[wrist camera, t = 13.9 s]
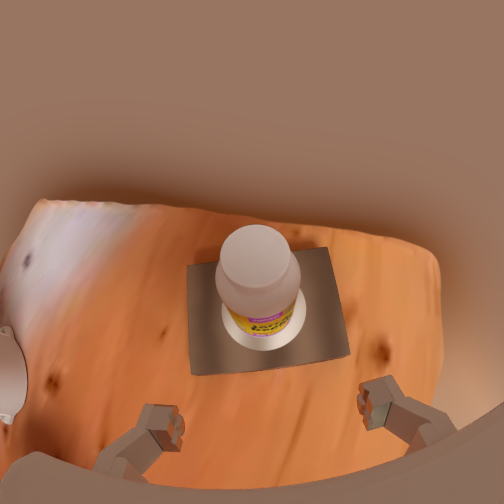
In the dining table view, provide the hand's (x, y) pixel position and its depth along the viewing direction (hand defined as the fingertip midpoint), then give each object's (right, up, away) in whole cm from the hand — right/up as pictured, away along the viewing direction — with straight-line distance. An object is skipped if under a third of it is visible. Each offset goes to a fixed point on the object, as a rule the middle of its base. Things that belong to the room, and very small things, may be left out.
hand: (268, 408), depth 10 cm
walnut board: (+1, -1, +22) cm, 22 cm away
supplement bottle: (0, +1, +19) cm, 19 cm away
